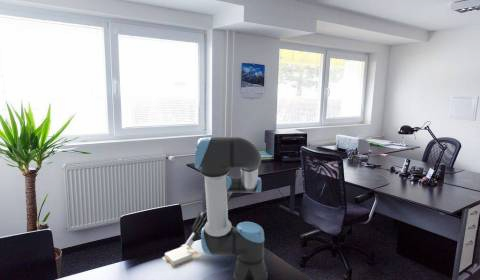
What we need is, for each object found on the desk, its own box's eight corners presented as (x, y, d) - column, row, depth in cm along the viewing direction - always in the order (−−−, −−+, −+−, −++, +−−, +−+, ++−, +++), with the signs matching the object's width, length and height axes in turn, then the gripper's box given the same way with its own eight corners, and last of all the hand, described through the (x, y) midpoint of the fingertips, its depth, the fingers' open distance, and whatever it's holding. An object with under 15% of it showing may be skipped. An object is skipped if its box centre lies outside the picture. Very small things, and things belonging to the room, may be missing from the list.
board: (202, 257, 146) (202, 255, 146) (172, 270, 136) (172, 268, 136) (190, 248, 154) (190, 246, 154) (161, 259, 144) (161, 257, 144)
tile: (192, 253, 143) (173, 261, 137) (192, 258, 144) (173, 266, 137) (183, 246, 150) (164, 253, 144) (183, 250, 150) (164, 257, 144)
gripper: (226, 212, 151) (199, 254, 144) (212, 204, 161) (186, 243, 154) (218, 205, 147) (189, 247, 139) (203, 197, 157) (176, 237, 149)
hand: (187, 245), depth 147 cm, fingers closed
